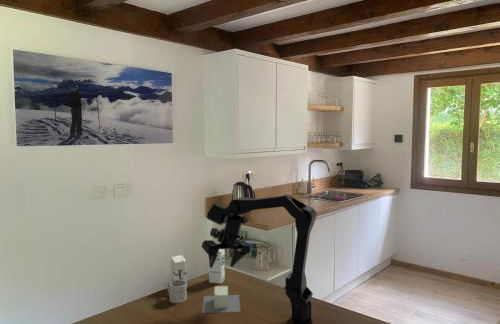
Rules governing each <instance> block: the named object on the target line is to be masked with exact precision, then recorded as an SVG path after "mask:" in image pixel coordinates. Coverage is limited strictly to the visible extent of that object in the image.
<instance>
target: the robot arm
mask: <svg viewBox="0 0 500 324" xmlns="http://www.w3.org/2000/svg"><path fill="white" fill-rule="evenodd" d="M273 208H274V209H275V208H284V210H286V211H287V213H288V214H289V216H291V217H292V218H293V219H295V229H296V234H297V235H296V240H295V241H296V242H295V247H294V249H295V250H294V256H293V264H292V272H291V271H290V272H289V274H288V275H287V276H286V277H285V279H284V280H285V286H284V288H283V289H284V290H285V294H286V297H287V298H288V299H289V302H290V309H289V310H290V315H289V316H290V319H291V321H292V322H293V324H313V320H312V302H311V299H312V298H313V297H312V296H313V295H314V293H313V292H312V291H311V289H309V287H308V286H307V277H306V276H307V275H306V273H305V271H306V265H307V257H308V248H309V241H310V234H311V232H312V230H313V227H314V225H315V222H316V218H317V211H316V209H315V208H313V207H312V206H310V205H307V204H305V203H304V202H303V201H300V200H298V199H296V197H294V196H293V195H291V194H289V193H286V194H283V195H282V194H281V195H275V196H267V197H259V198H258V197H257V198H253V197H247V196H240V197H238V198H235V199H232V200H230V202H229V204H228V206H227V207H225V206H222V205H221V204H218V203H217V202H215V203H213V204H212V206H211V207H210V208H209V211H208V212H207V214H206V219H207V220H209V221H211V222H213V223H215V224H217V225H220V226H222V225H224V224H225V226H224V228H222V229H218V228H216V227H212V228H211V229H210V232H209V235H210V237H213V239H216V240H217V242H218V243H216V242H215V241H214V240H203V241H202V244H201V248H202V249H203V250H204V252H205V253H206V254H207V256H208V267H209V266H210V268H212V267H213V265H214V262H215V260H216V258H217V256H218V255H217V254H216V253H218V250H220V249H224V250H233V254H232V257H231V260H230V268H233V267H234V266H235V265H236V264H237V263H238V262H239V261H240V260H241V259H242V258H243V257H245V256H246V255H248V254H250V253H251V250H252V248H251V245H250V244H249V243H248V242H247V241H246V240H245V239H244V240H242V239H241V240H238V239H240V238H241V234H240V231H241V228H242V224H243V225H246V224H247V223H249V220H248V218H247V216H246V215H243V216H241V215H242V214H246V213H249V212H251V211H255V210H264V209H273Z"/></svg>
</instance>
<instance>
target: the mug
mask: <svg viewBox="0 0 500 324" xmlns="http://www.w3.org/2000/svg"><path fill="white" fill-rule="evenodd" d="M187 290H188V281H187V282H186V281H184V280H174V281H172V280H171V281H168V282H167V293H168V295H169V302H170V303H172V304H181V303H184V302H186V301H187V300H188V298H187V297H188V293H187Z"/></svg>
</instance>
